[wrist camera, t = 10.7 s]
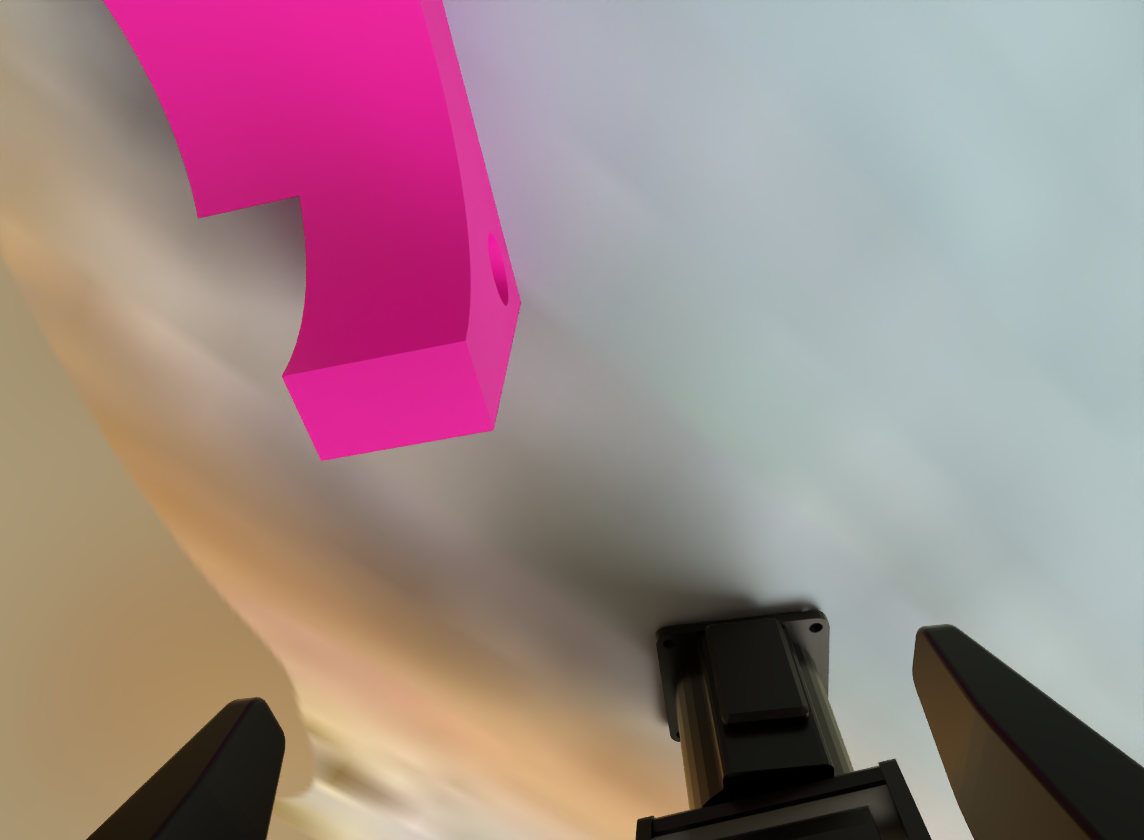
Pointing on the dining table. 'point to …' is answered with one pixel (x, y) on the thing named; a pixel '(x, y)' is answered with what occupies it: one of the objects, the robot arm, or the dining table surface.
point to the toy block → (350, 198)
